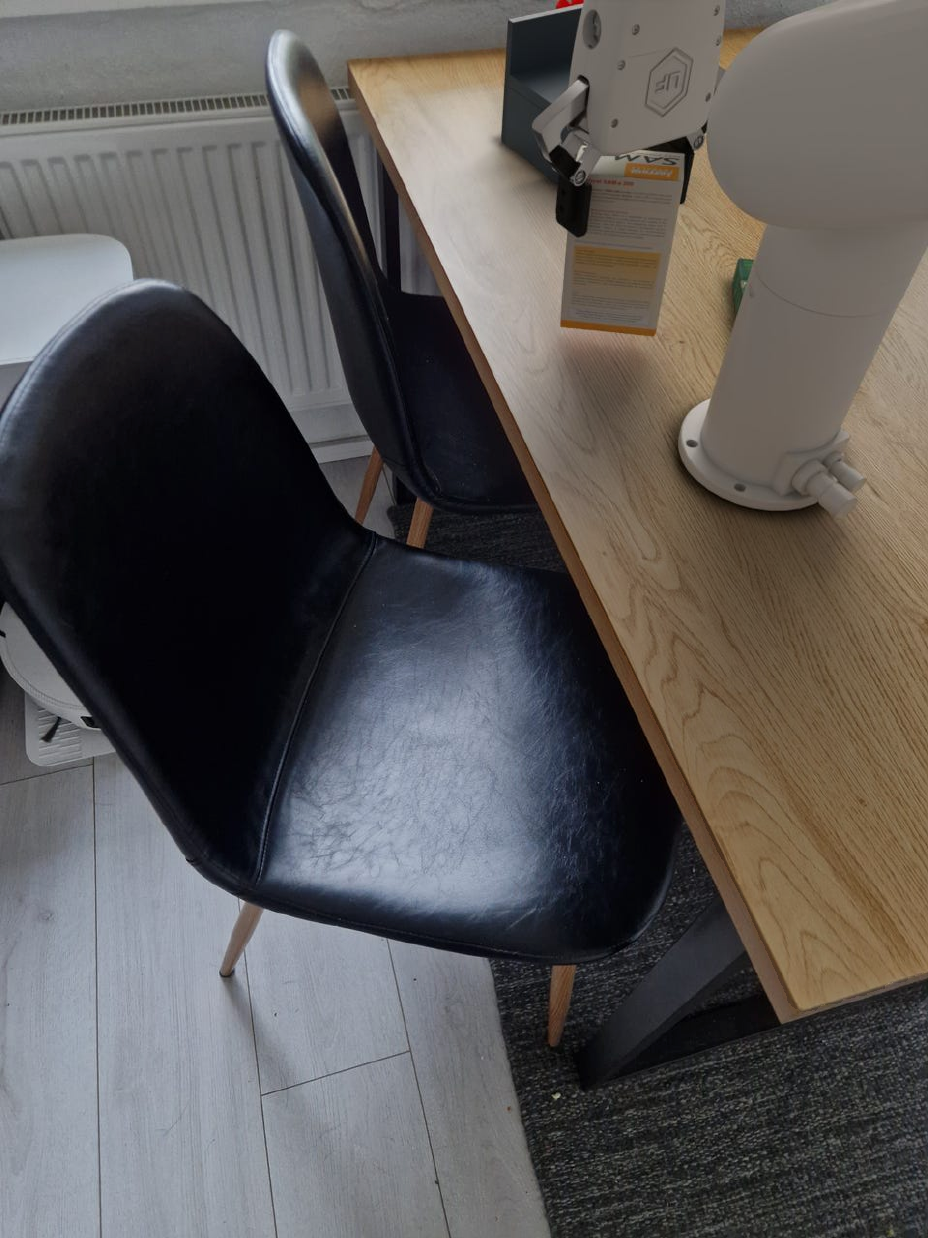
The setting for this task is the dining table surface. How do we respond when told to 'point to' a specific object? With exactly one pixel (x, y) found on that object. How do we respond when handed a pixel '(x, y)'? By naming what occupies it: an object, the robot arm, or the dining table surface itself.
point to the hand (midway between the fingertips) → (620, 212)
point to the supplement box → (623, 244)
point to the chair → (537, 77)
